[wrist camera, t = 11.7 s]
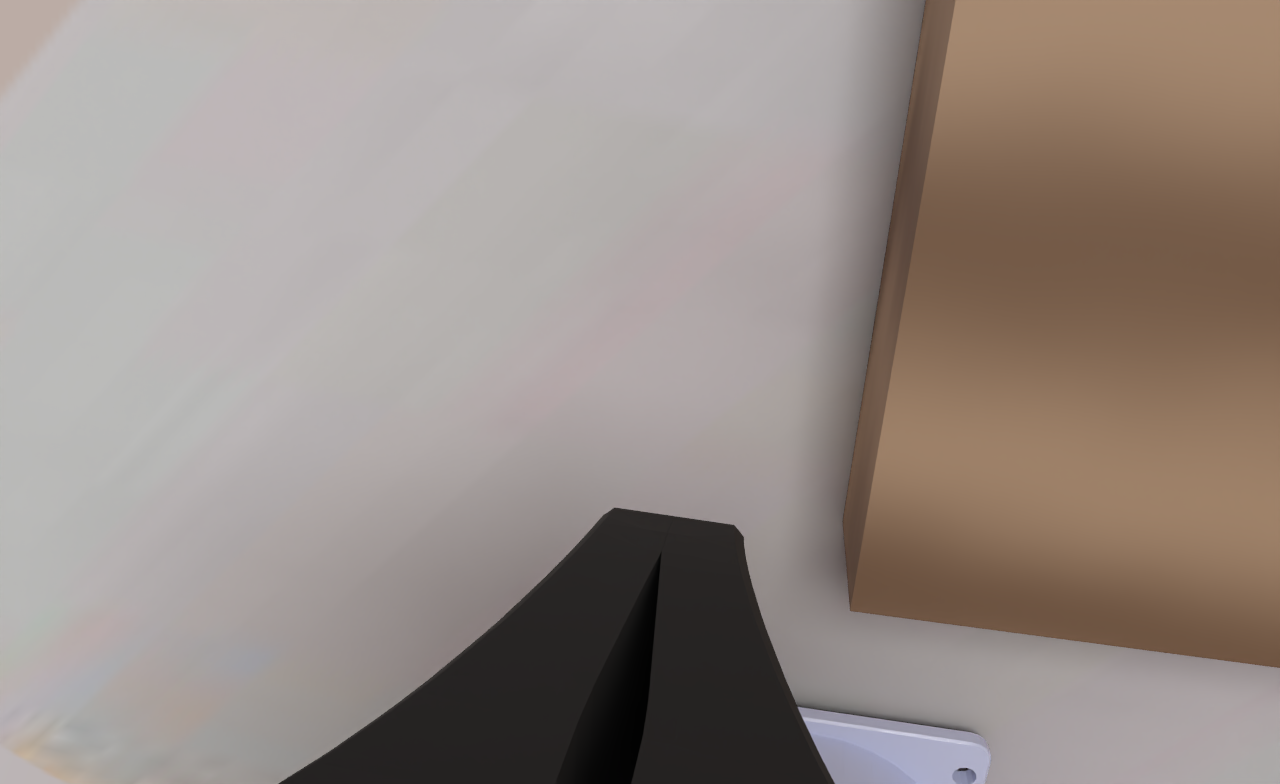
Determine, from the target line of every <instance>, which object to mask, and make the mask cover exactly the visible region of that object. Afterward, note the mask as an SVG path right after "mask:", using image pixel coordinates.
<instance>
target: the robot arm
mask: <svg viewBox="0 0 1280 784" xmlns="http://www.w3.org/2000/svg"><path fill="white" fill-rule="evenodd" d="M990 764H991V754H990V750H989V746H988V744H987V742H986V740H985V739H984V738H982V737H981V736H980V735H978V734H974V733H971V732H965V731H958V730H952V729H945V728H938V727H931V726H924V725H918V724H911V723H904V722H897V721H890V720H884V719H877V718H870V717H863V716H856V715H850V714H843V713H836V712H829V711H823V710H816V709H809V708H802V707H797V705H796V702H795V700H794V698H793V696H792V693H791V691H790V689H789V686H788V684H787V682H786V679H785V677H784V674H783V672H782V669H781V667H780V664H779V661H778V659H777V656H776V654H775V651H774V649H773V646H772V643H771V641H770V638H769V636H768V633H767V630H766V628H765V625H764V622H763V619H762V616H761V613H760V610H759V607H758V603H757V600H756V597H755V593H754V590H753V587H752V583H751V579H750V575H749V571H748V566H747V562H746V556H745V549H744V537H743V535H742V534H741V533H740V532H739V530H738V529H737V528H736V527H735V525H730V524H723V523H716V522H709V521H702V520H695V519H689V518H682V517H675V516H668V515H661V514H654V513H647V512H640V511H634V510H627V509H620V508H614V509H612V510H611V511H609V512H608V513H606V514H605V515H603V516H602V518H601V519H600V520H599V521H598V522H597V523H596V524H595V526H594V527H593V528H592V529H591V530H590V531H589V532H588V533H587V534H586V536H585V537H584V538H583V539H582V540H581V541H580V542H579V543H578V544H577V545H576V546H575V547H574V548H573V550H572V551H571V552H570V553H569V554H568V555H567V556H566V557H565V558H564V559H563V560H562V561H561V562H560V563H559V564H558V565H557V566H556V567H555V568H554V569H553V570H552V571H551V572H550V573H549V574H548V575H547V576H546V577H545V578H544V579H543V580H542V581H541V582H540V583H539V584H538V585H537V586H536V587H534V588H533V589H532V590H531V591H530V592H529V593H528V594H527V595H526V596H525V597H524V598H523V599H522V600H521V601H520V602H519V603H517V604H516V605H515V606H514V607H513V608H512V609H511V610H510V611H509V612H508V613H507V614H506V615H505V616H504V617H503V618H502V619H500V620H499V621H498V622H497V623H496V624H495V625H494V626H493V627H491V628H490V629H489V630H488V631H487V632H486V633H484V634H483V635H482V636H481V637H480V638H478V639H477V640H476V641H475V642H474V643H472V644H471V645H470V646H469V647H468V648H466V649H465V650H464V651H463V652H462V653H460V654H459V655H458V656H457V657H456V658H454V659H453V660H452V661H451V662H450V663H448V664H447V665H446V666H445V667H444V668H442V669H441V670H440V671H439V672H438V673H436V674H435V675H434V676H433V677H432V678H430V679H429V680H428V681H426V682H425V683H424V684H423V685H421V686H420V687H419V688H417V689H416V690H415V691H413V692H412V693H411V694H409V695H408V696H407V697H405V698H404V699H403V700H402V701H400V702H399V703H398V704H396V705H395V706H394V707H392V708H391V709H389V710H388V711H387V712H385V713H384V714H383V715H381V716H380V717H378V718H377V719H376V720H374V721H373V722H371V723H370V724H368V725H367V726H366V727H364V728H363V729H361V730H360V731H358V732H357V733H355V734H354V735H353V736H351V737H350V738H348V739H347V740H345V741H344V742H342V743H341V744H340V745H338V746H337V747H335V748H334V749H332V750H331V751H329V752H328V753H326V754H325V755H323V756H322V757H320V758H319V759H317V760H315V761H314V762H312V763H311V764H309V765H307V766H306V767H304V768H303V769H301V770H299V771H298V772H296V773H295V774H293V775H291V776H290V777H288V778H287V779H285V780H283V781H282V782H280V783H279V784H985V782H986V778H987V775H988V771H989V768H990ZM959 768H968V769H969V770H966V771H957V769H959Z"/></svg>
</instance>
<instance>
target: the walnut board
mask: <svg viewBox="0 0 1280 784" xmlns="http://www.w3.org/2000/svg"><path fill="white" fill-rule="evenodd" d="M843 531H844V543H845V554H846V566H847V578H848V590H849V602H850V611H855V612H862V613H870V614H877V615H885V616H892V617H900V618H907V619H915V620H923V621H930V622H938V623H945V624H953V625H960V626H968V627H976V628H983V629H991V630H998V631H1006V632H1013V633H1021V634H1028V635H1036V636H1044V637H1051V638H1059V639H1066V640H1074V641H1081V642H1089V643H1096V644H1104V645H1112V646H1119V647H1127V648H1134V649H1142V650H1149V651H1157V652H1164V653H1172V654H1180V655H1187V656H1195V657H1202V658H1210V659H1217V660H1225V661H1233V662H1240V663H1248V664H1255V665H1263V666H1270V667H1278V668H1280V0H926V3H925V9H924V16H923V22H922V28H921V34H920V41H919V47H918V53H917V59H916V66H915V72H914V78H913V84H912V91H911V97H910V103H909V109H908V116H907V122H906V128H905V134H904V141H903V147H902V153H901V160H900V166H899V172H898V178H897V185H896V191H895V197H894V203H893V210H892V216H891V222H890V228H889V235H888V241H887V247H886V253H885V260H884V266H883V272H882V278H881V285H880V291H879V297H878V304H877V310H876V316H875V322H874V329H873V335H872V341H871V347H870V354H869V360H868V366H867V372H866V379H865V385H864V391H863V397H862V404H861V410H860V416H859V422H858V429H857V435H856V441H855V448H854V454H853V460H852V466H851V473H850V479H849V485H848V491H847V498H846V504H845V510H844V516H843Z"/></svg>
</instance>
